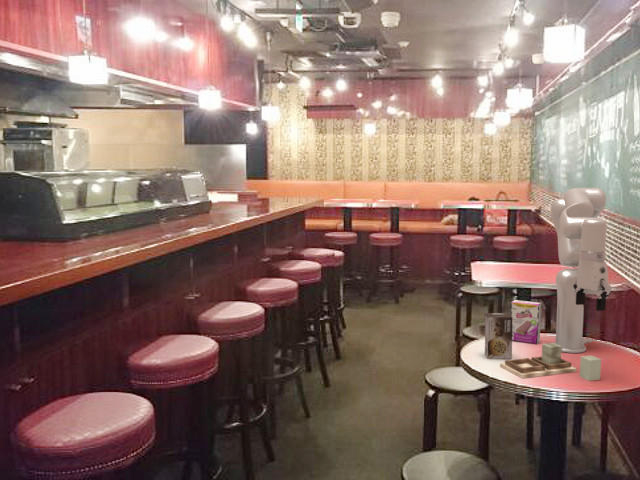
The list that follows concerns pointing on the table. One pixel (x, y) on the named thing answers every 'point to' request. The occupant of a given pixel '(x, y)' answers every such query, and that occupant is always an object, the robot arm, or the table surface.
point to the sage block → (590, 368)
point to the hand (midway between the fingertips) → (590, 307)
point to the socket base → (540, 363)
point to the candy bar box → (526, 321)
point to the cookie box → (498, 335)
